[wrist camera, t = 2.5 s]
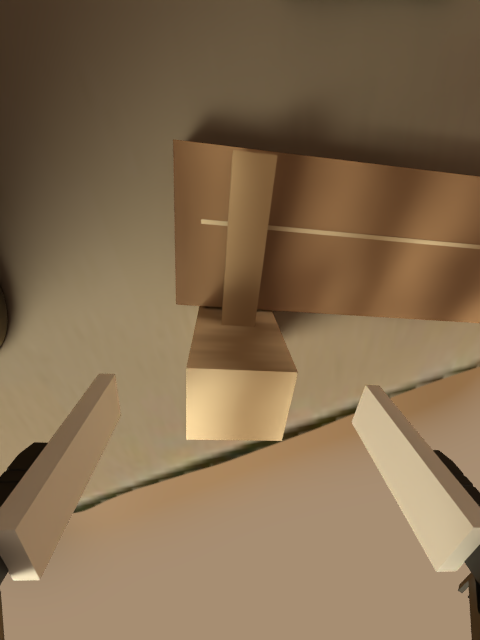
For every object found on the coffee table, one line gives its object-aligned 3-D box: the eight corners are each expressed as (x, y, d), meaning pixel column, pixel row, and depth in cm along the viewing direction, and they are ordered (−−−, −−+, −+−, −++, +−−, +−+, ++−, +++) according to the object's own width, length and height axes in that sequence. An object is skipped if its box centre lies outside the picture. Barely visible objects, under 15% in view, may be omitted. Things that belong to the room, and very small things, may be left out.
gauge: (200, 349, 21) (186, 444, 13) (205, 159, 15) (186, 119, 7) (259, 352, 22) (280, 445, 14) (286, 168, 16) (352, 140, 8)
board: (181, 291, 19) (175, 304, 17) (180, 148, 15) (173, 139, 13) (473, 311, 21) (503, 324, 19) (537, 190, 17) (585, 189, 15)
